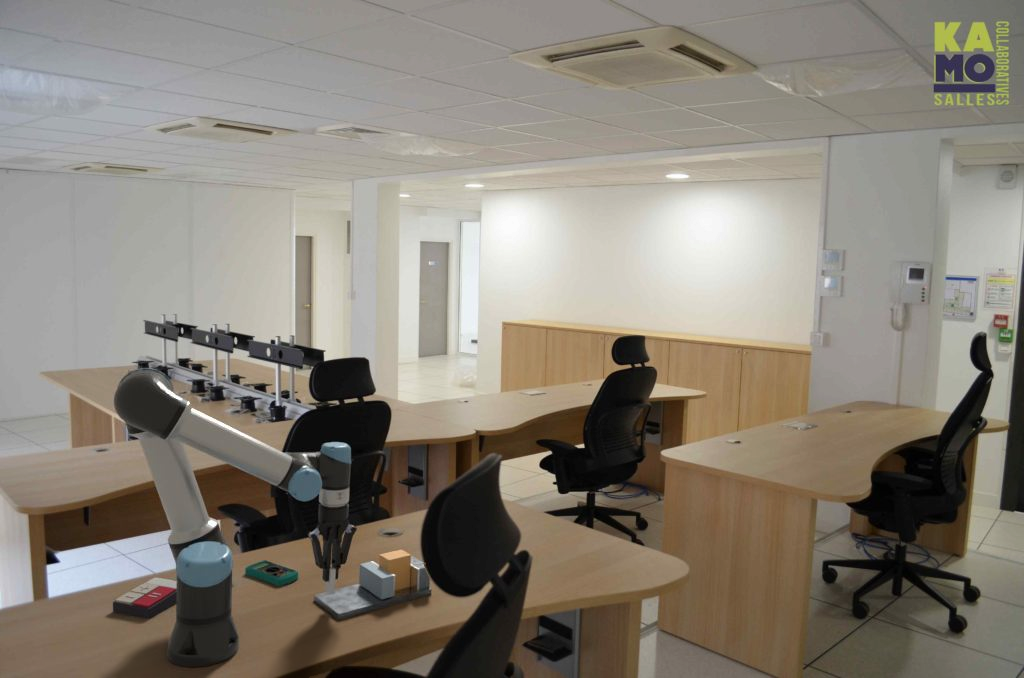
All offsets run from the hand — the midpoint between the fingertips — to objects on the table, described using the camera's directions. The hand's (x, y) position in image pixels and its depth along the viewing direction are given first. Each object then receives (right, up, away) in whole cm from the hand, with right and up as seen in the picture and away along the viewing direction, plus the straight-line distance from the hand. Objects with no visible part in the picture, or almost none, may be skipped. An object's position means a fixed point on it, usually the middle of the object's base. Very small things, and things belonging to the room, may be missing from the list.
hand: (329, 592), depth 196 cm
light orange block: (+15, -3, +12) cm, 19 cm away
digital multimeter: (-21, -3, +19) cm, 29 cm away
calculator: (-45, -3, -1) cm, 46 cm away
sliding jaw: (+11, -2, +9) cm, 14 cm away
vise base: (+10, -4, +8) cm, 14 cm away
